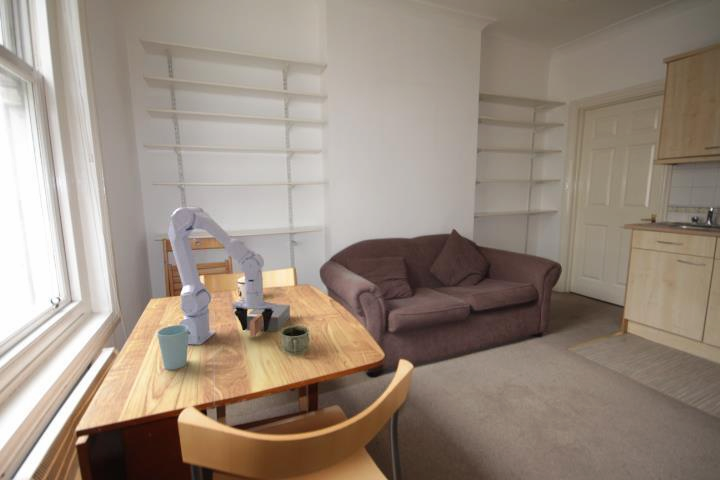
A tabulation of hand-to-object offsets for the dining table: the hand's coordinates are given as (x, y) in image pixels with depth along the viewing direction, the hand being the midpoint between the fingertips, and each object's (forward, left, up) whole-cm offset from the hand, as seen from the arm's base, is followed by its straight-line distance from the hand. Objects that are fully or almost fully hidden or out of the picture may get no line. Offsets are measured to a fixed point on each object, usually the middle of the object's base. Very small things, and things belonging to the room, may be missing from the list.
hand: (255, 329), depth 112 cm
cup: (-20, +15, -3) cm, 26 cm away
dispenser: (+12, 0, -3) cm, 13 cm away
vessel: (-8, -16, -3) cm, 18 cm away
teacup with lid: (+40, +20, -3) cm, 44 cm away
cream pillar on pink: (+7, 0, -1) cm, 8 cm away
